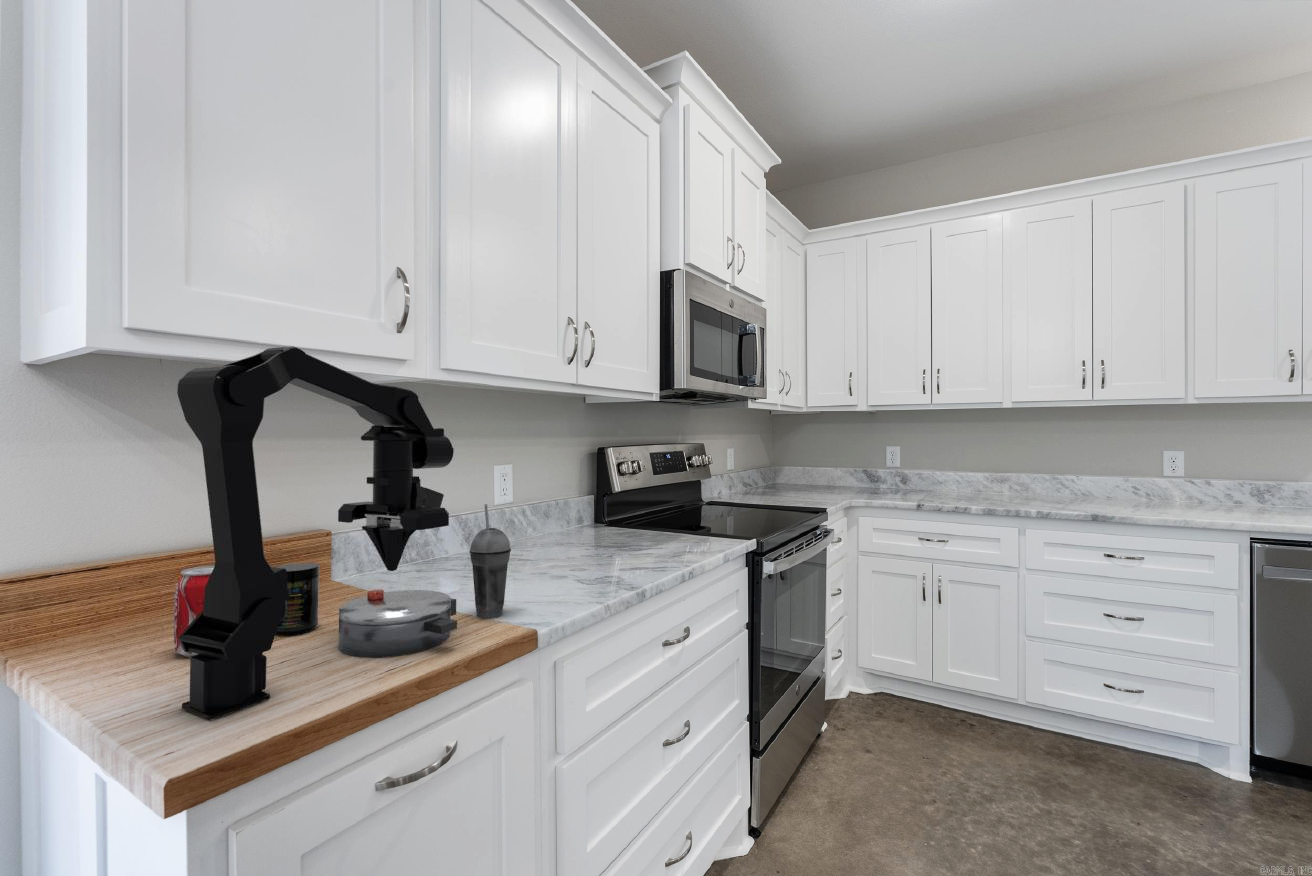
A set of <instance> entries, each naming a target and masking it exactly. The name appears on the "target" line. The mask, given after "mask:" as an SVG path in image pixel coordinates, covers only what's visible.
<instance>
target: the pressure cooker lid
mask: <svg viewBox="0 0 1312 876" xmlns="http://www.w3.org/2000/svg"><path fill="white" fill-rule="evenodd" d="M384 591H385V590H384V589H371V590H368V591H367V593H366V595H364V596H359V597H357V598H353V599H351V600H348V601H347V602H344V603H343V604H341V605H342V606H341V605H340V606H339V608H338V619H339V618H340V619H341V620H342V621H344V622H347V623H351V624H358V625H392V624H401V623H408V622H414V621H419V620H423V619H427V618H431V617H434V616H436V615H439V614H441V613H443V612H445V611H447V610H448V609H449V608H450V606H451V598H452V597H451V596H450V595H449V594H448V593H444V592H440V591H435V590H428V589H427V590H424V589H408V590H393V591H385V592H384Z"/></svg>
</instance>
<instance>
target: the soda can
mask: <svg viewBox="0 0 1312 876" xmlns="http://www.w3.org/2000/svg"><path fill="white" fill-rule="evenodd" d="M214 566H215V565H205V566H204V565H203V566H202V565H201V566H196V567H191V568H187V569H183V570H182V571H181V570H180V577H179V578H178V580H177V582H176V583H175V587H174V588H175V589H174V602H173V603H174V605H173V611H174V612H173V641H174V642H173V643H174V651H175V653H177V654H179V655H182V656H183V657H185V658H190V657H191V656H195V655H198V654H196V653H192V652H184V650H183V648H182V646H181V644H180V641H179V636H180V635H181V633H182V632H183V631H184V630H185V629H186V628H187V627H188V626H189V625H190V623H191V622H192V621H193V620H194V619H195V618H196V617H197V616H198V615H199V613H200V612H201V611H202V610H203V607H204V594H205V586H206V584H207V582H208V580H209V577H210V575H211V573H212V571H213V569H214ZM230 635H231V634H230Z"/></svg>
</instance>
